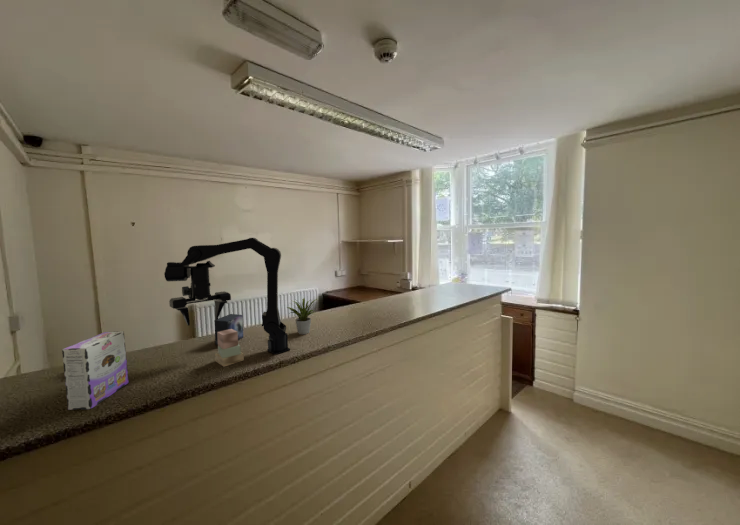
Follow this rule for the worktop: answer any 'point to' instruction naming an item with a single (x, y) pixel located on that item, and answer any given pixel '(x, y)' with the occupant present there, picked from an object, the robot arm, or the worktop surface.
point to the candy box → (95, 369)
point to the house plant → (302, 317)
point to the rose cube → (227, 338)
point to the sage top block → (229, 351)
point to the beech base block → (229, 359)
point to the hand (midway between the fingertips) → (202, 322)
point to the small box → (229, 325)
